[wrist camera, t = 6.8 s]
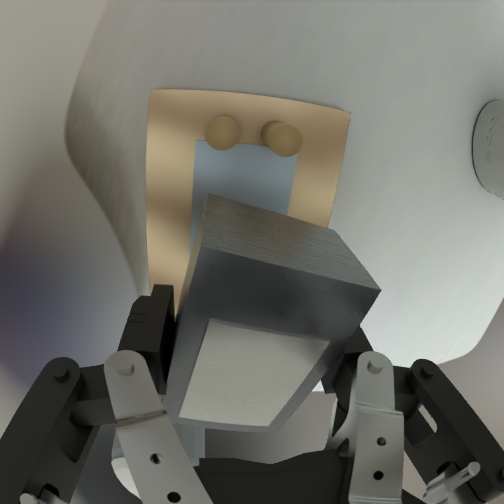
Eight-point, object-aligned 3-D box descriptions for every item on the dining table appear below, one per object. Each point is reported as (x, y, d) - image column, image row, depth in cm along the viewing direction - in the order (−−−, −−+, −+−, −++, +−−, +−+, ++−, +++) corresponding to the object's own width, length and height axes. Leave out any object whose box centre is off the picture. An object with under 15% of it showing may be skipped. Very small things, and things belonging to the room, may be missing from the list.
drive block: (334, 230, 11) (383, 292, 7) (264, 367, 14) (276, 434, 11) (207, 193, 10) (200, 248, 6) (167, 350, 13) (158, 422, 10)
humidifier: (226, 335, 25) (249, 634, 3) (200, 385, 28) (205, 612, 7) (136, 309, 23) (84, 621, 1) (125, 365, 26) (92, 598, 4)
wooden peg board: (155, 90, 15) (132, 86, 11) (343, 111, 17) (377, 116, 13) (155, 302, 23) (143, 344, 19) (299, 310, 24) (313, 350, 20)
